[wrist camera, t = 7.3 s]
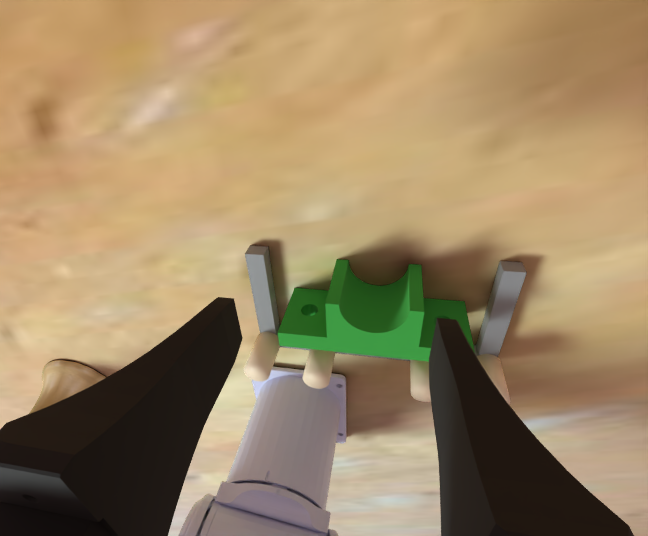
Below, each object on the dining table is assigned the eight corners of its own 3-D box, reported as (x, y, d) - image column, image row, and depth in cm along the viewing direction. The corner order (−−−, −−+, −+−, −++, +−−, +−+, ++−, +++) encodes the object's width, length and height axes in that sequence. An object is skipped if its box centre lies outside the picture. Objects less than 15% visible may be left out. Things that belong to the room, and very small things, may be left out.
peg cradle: (494, 361, 26) (506, 412, 23) (263, 337, 29) (245, 379, 26) (527, 262, 21) (549, 309, 18) (245, 245, 24) (221, 282, 21)
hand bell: (123, 419, 41) (-4, 610, 28) (50, 394, 41) (-113, 575, 28) (123, 377, 36) (-30, 585, 23) (39, 347, 36) (-164, 543, 23)
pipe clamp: (471, 265, 23) (486, 317, 19) (461, 311, 25) (471, 366, 21) (291, 254, 24) (271, 300, 21) (295, 299, 26) (278, 347, 23)
